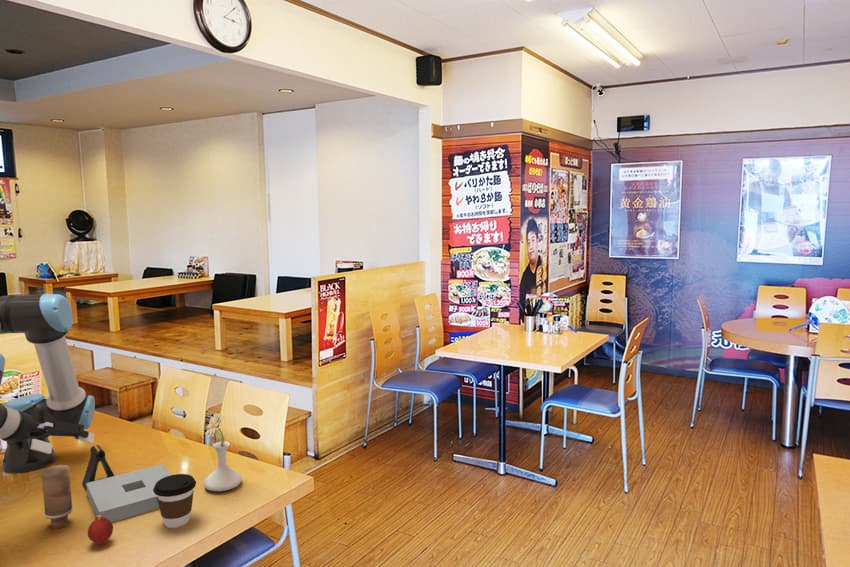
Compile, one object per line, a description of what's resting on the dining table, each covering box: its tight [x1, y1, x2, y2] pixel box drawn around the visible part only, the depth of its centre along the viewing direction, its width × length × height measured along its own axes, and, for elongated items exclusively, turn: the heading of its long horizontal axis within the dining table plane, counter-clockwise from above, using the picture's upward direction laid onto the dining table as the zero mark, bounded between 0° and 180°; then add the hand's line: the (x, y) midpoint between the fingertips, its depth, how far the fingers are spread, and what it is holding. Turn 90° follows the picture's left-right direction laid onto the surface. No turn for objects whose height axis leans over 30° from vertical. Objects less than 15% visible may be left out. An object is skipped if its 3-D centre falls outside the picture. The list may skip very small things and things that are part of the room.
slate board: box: [86, 463, 172, 524], centre depth 178 cm, size 22×22×4 cm
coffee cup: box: [153, 473, 197, 529], centre depth 164 cm, size 11×11×12 cm
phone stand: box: [81, 444, 115, 492], centre depth 187 cm, size 9×6×12 cm, turn 130°
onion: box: [87, 515, 114, 546], centre depth 154 cm, size 6×6×8 cm
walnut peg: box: [41, 464, 74, 530], centre depth 162 cm, size 7×7×16 cm
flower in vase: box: [203, 412, 243, 492], centre depth 183 cm, size 13×11×25 cm
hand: (71, 443), depth 167 cm, fingers open, 13 cm apart
